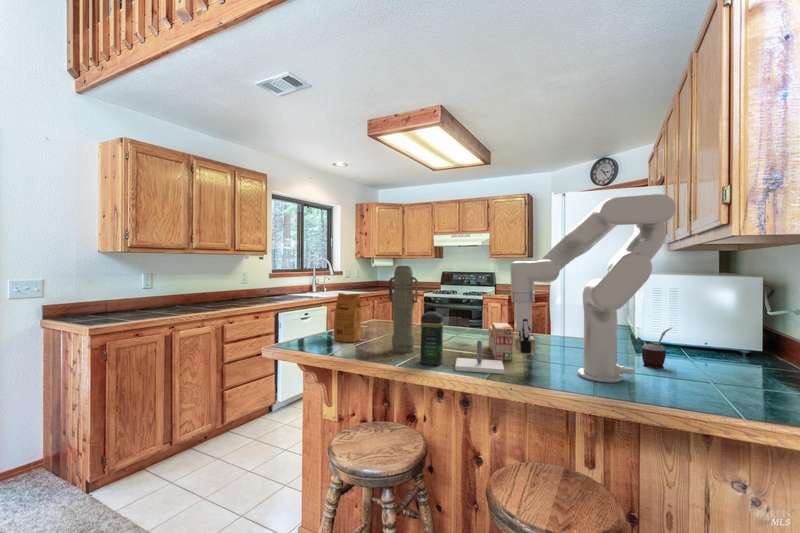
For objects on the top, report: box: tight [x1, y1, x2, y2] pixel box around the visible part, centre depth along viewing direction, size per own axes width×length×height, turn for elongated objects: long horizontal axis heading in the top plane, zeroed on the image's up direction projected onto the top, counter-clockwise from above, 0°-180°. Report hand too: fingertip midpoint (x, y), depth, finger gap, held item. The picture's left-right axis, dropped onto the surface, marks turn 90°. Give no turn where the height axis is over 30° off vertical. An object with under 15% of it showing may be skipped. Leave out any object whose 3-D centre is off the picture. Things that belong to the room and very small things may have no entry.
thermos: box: [388, 265, 418, 354], centre depth 152 cm, size 9×12×35 cm
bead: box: [513, 335, 536, 356], centre depth 126 cm, size 6×6×5 cm
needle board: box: [454, 339, 505, 375], centre depth 129 cm, size 16×11×10 cm
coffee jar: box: [419, 310, 444, 366], centre depth 135 cm, size 10×8×19 cm
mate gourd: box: [641, 327, 673, 370], centre depth 131 cm, size 8×8×15 cm
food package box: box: [488, 322, 514, 361], centre depth 149 cm, size 21×6×12 cm, turn 173°
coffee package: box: [333, 292, 362, 343], centre depth 171 cm, size 10×12×22 cm
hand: (524, 350), depth 126 cm, fingers closed on bead, 5 cm apart
